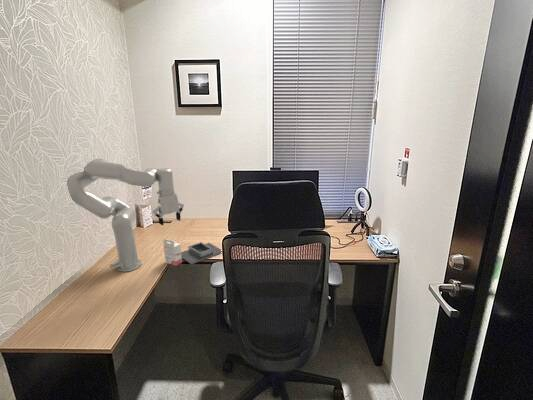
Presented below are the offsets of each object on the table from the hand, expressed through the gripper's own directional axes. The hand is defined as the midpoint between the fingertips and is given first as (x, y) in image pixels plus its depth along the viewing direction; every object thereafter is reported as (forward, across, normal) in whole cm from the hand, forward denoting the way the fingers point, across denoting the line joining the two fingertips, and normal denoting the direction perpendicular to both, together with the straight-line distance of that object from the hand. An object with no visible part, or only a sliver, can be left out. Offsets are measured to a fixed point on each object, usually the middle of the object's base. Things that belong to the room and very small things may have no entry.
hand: (170, 222), depth 164 cm
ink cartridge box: (+25, 0, 0) cm, 25 cm away
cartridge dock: (+25, +17, -1) cm, 30 cm away
